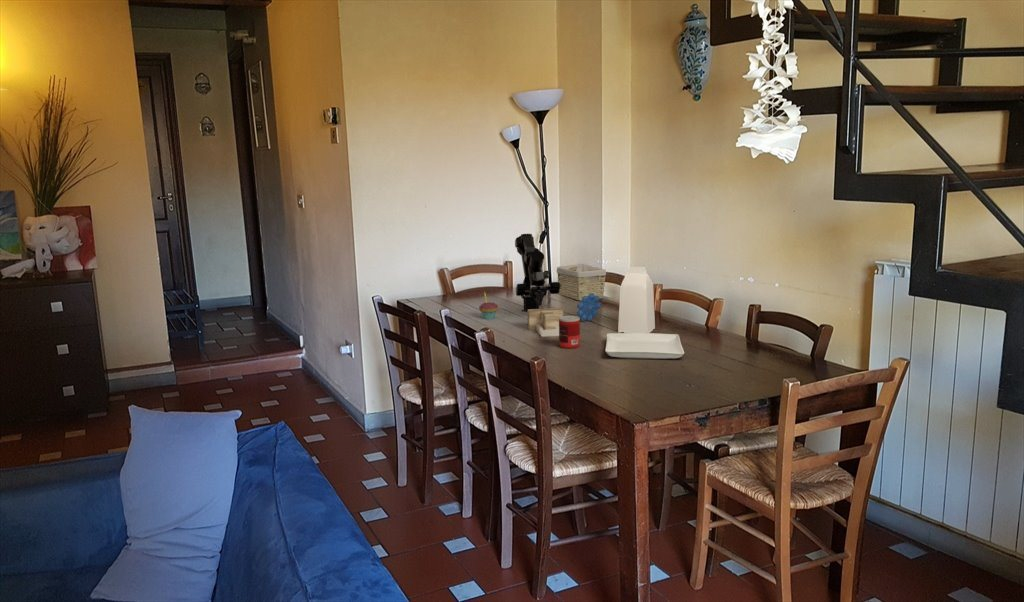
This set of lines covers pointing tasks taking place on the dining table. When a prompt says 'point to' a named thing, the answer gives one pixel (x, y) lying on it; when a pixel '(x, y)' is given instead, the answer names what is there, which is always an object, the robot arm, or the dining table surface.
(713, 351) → the dining table surface
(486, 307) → the cupcake
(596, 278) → the storage basket
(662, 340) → the square plate
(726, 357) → the dining table surface
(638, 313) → the milk
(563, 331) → the canned food
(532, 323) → the t block
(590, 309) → the grapes
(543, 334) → the slot guide
